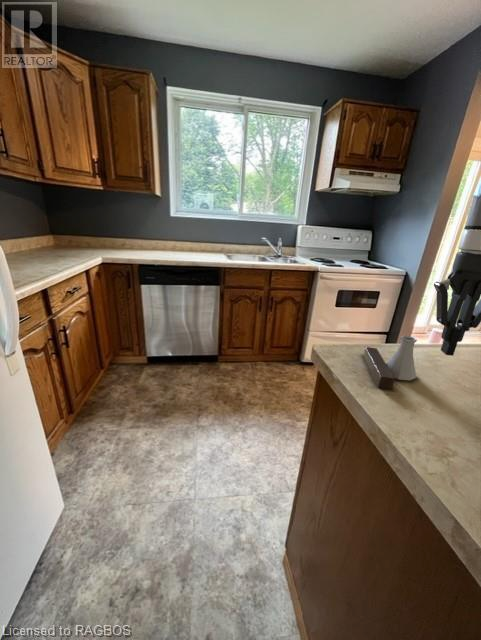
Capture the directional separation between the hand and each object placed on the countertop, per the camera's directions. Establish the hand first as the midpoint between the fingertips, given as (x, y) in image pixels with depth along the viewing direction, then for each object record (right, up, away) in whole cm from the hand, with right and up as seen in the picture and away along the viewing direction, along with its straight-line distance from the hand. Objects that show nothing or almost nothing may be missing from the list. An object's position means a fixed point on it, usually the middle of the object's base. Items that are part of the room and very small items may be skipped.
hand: (446, 352), depth 65 cm
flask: (-9, -6, +5) cm, 12 cm away
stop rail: (-14, -5, +5) cm, 16 cm away
